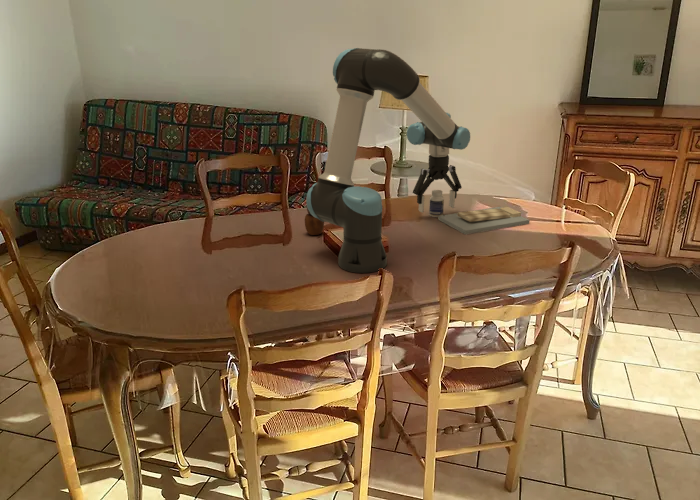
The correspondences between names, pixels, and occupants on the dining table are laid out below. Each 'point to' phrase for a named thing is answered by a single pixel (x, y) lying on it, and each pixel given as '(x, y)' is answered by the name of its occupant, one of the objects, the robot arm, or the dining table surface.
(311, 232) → the wooden figurine
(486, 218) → the plank
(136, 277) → the dining table surface
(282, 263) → the dining table surface
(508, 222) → the floor panel
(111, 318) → the dining table surface
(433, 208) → the pill bottle
